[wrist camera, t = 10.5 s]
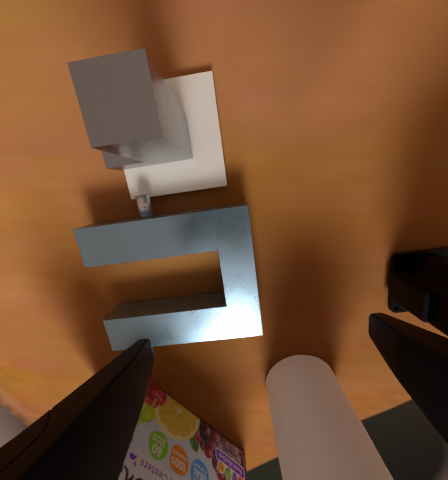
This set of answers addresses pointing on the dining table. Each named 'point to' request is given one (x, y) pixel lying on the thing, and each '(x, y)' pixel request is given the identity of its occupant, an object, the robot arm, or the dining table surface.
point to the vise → (175, 244)
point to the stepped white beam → (130, 110)
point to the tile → (201, 138)
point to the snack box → (178, 445)
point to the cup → (318, 425)
